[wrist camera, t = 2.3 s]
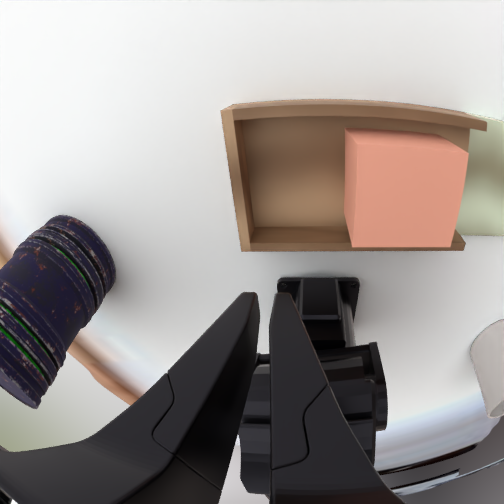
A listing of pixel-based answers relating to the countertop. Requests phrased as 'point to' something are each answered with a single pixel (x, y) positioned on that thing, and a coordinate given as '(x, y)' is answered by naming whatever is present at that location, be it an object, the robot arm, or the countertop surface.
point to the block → (402, 188)
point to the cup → (490, 367)
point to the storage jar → (48, 302)
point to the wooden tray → (343, 169)
